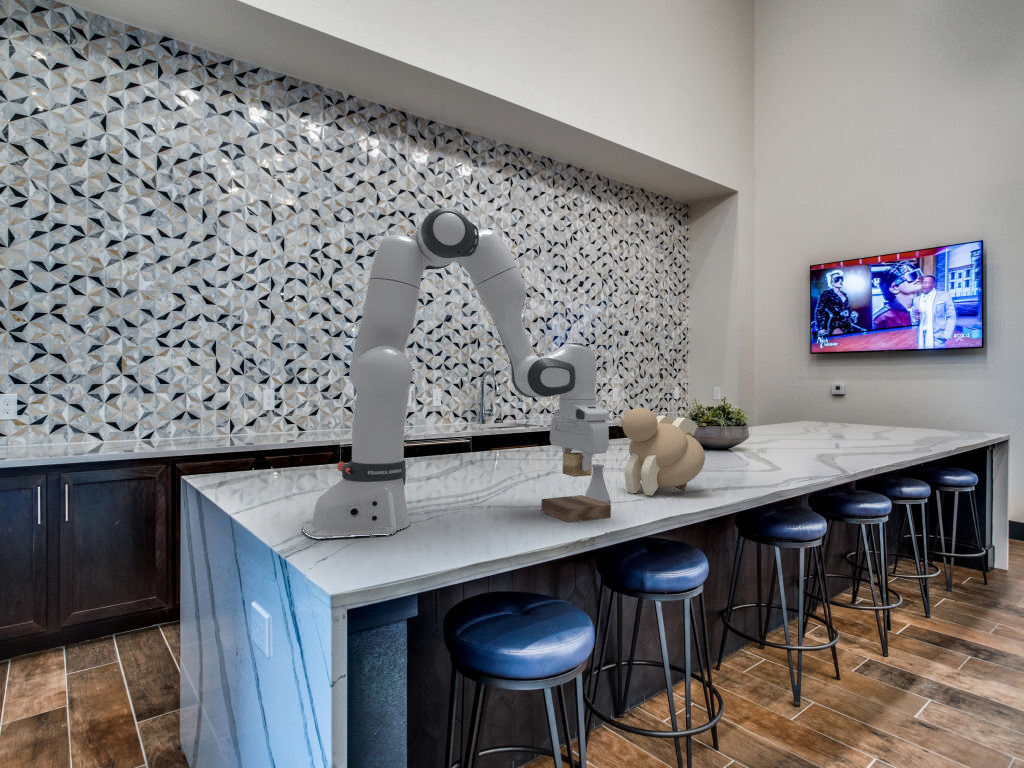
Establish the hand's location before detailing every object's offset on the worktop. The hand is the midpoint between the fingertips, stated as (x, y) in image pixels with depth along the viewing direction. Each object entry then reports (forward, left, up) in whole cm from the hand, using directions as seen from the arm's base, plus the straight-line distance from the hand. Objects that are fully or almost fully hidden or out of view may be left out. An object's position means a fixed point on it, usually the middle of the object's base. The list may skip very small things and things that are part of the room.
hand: (576, 468), depth 140 cm
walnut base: (0, 0, -11) cm, 11 cm away
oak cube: (0, 0, -2) cm, 2 cm away
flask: (+13, +9, -12) cm, 19 cm away
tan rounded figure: (+40, +13, -11) cm, 43 cm away
